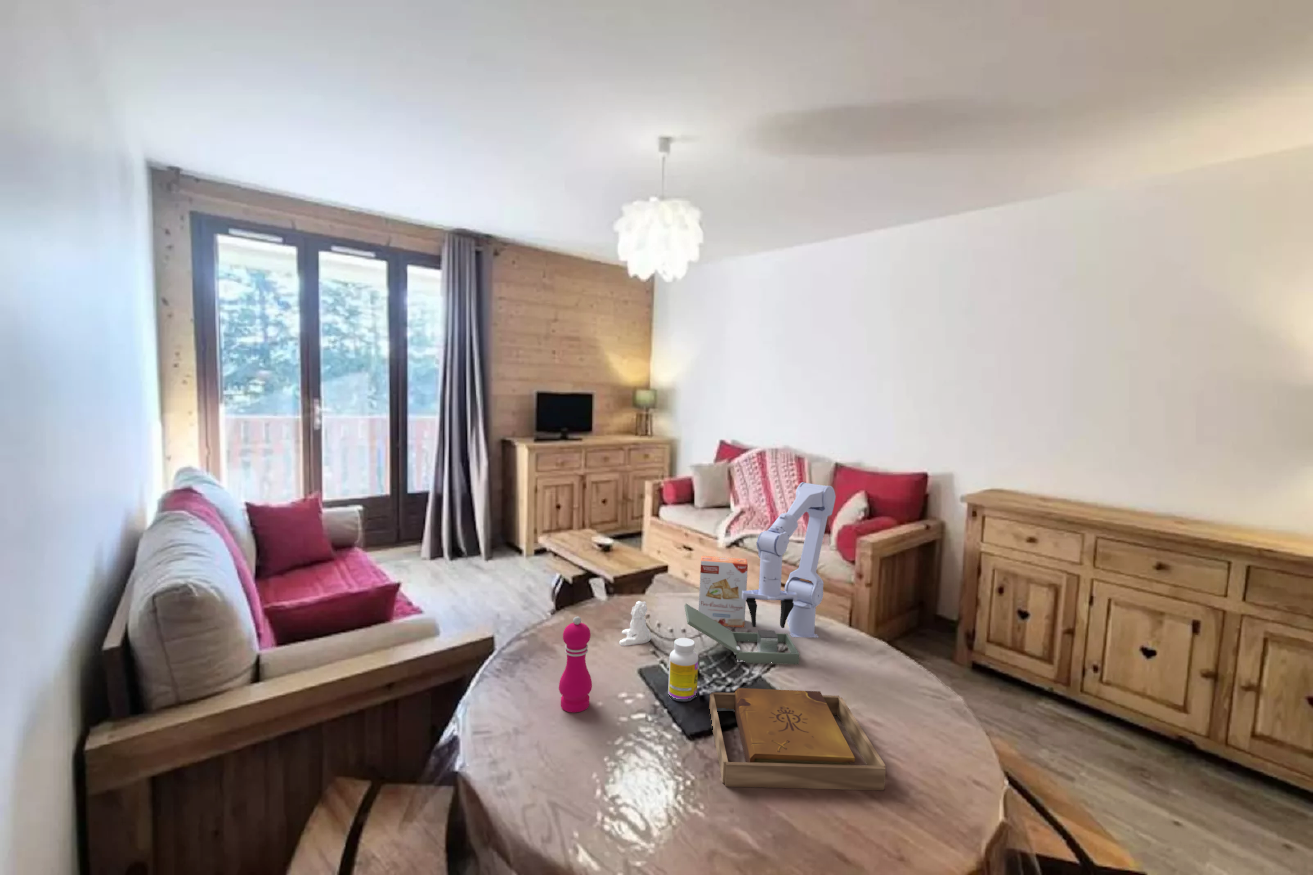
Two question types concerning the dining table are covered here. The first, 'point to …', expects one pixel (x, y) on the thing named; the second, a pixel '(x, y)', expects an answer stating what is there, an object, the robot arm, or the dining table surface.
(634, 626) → the white creature statuette
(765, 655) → the case
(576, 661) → the pepper mill
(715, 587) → the cracker box
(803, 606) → the robot arm
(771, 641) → the block
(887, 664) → the dining table surface
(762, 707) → the diary
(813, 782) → the desk tray
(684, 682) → the supplement bottle
